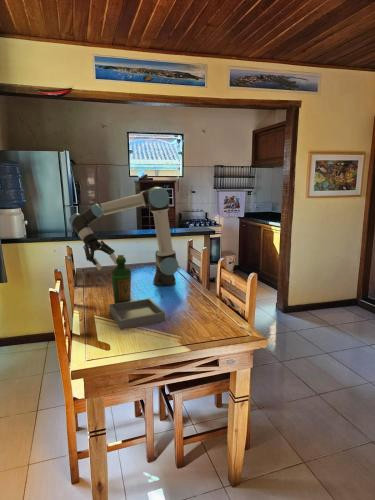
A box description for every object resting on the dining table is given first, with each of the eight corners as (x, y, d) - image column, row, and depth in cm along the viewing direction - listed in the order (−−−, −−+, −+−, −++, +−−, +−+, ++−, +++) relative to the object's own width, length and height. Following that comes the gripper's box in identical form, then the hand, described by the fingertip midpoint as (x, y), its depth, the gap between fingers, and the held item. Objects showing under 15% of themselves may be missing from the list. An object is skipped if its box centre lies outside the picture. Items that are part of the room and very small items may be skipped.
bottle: (127, 308, 173) (126, 258, 167) (109, 306, 175) (107, 257, 169) (134, 301, 183) (133, 254, 177) (117, 300, 185) (115, 253, 179)
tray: (150, 305, 177) (149, 297, 176) (165, 321, 157) (165, 312, 156) (109, 312, 167) (109, 304, 166) (120, 330, 148) (120, 321, 147)
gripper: (100, 238, 194) (120, 265, 190) (67, 244, 173) (89, 275, 169) (106, 230, 191) (127, 257, 187) (73, 236, 169) (96, 267, 165)
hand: (109, 266), depth 178 cm, fingers open, 13 cm apart
